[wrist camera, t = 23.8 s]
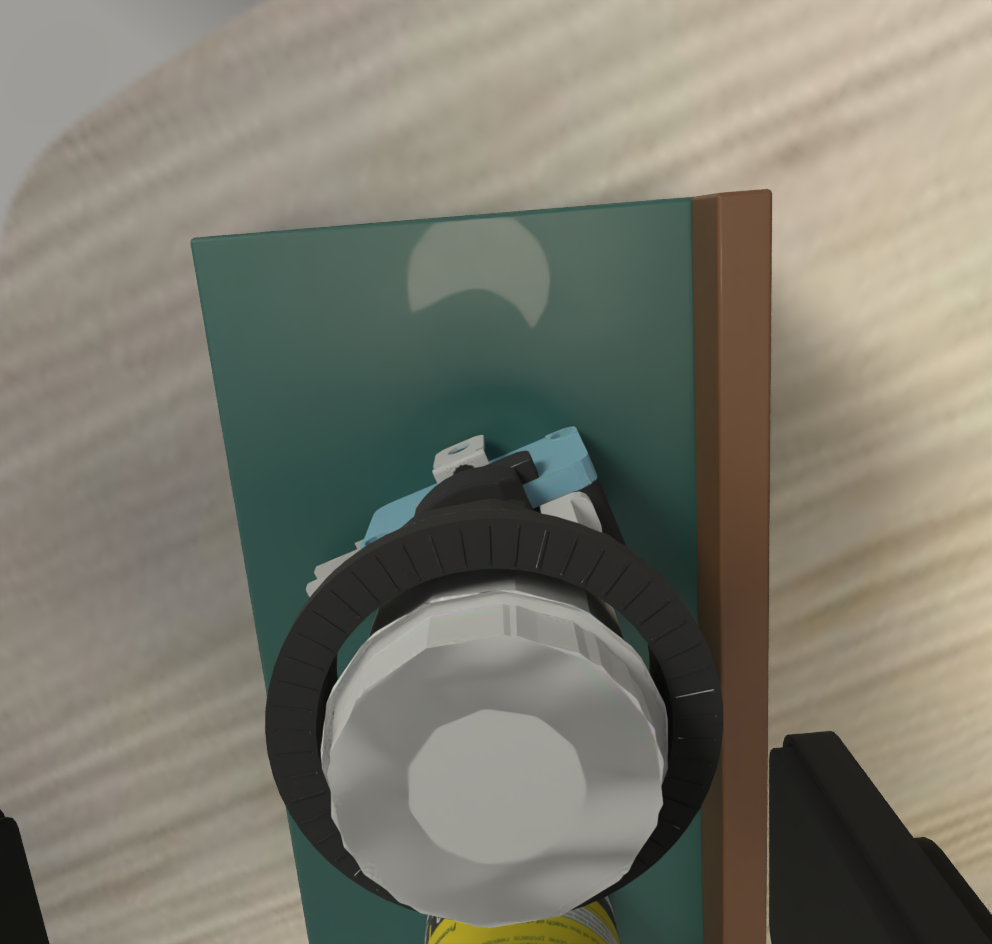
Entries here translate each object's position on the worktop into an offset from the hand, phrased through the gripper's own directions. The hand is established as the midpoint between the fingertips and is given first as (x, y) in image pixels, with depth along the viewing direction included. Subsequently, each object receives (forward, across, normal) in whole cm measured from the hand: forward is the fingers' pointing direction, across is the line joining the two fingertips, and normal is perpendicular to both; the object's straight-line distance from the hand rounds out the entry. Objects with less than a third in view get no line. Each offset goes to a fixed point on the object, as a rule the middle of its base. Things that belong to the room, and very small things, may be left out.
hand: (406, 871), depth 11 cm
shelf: (+15, -1, +3) cm, 15 cm away
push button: (+9, -1, -2) cm, 9 cm away
